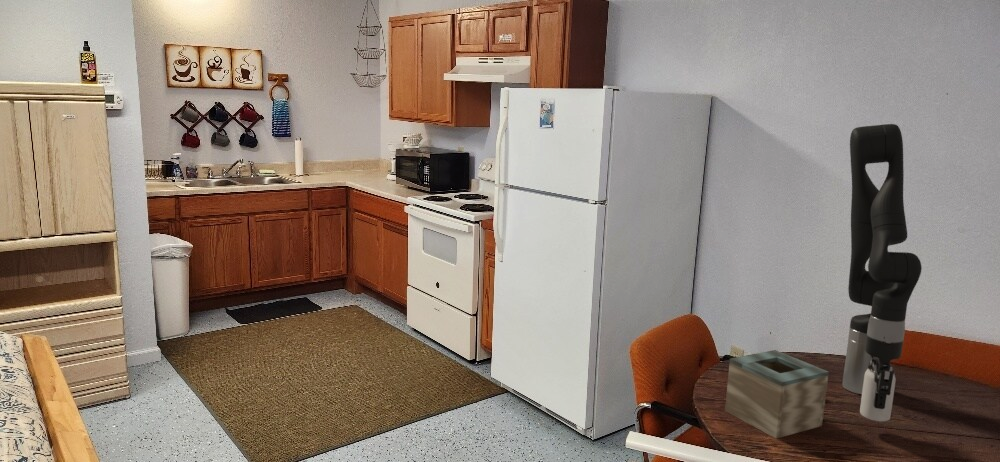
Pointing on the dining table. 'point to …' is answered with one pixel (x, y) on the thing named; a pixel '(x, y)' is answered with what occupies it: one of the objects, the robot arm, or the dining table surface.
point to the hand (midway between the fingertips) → (876, 401)
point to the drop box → (776, 393)
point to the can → (869, 396)
